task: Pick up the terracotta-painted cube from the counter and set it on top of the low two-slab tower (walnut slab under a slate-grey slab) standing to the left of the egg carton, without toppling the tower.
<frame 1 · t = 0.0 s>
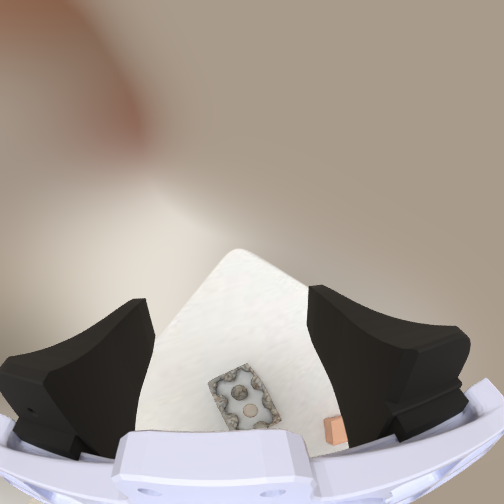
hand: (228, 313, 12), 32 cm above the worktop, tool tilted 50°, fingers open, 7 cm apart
terracotta cube: (336, 427, 35), on the worktop
egg carton: (243, 402, 38), on the worktop
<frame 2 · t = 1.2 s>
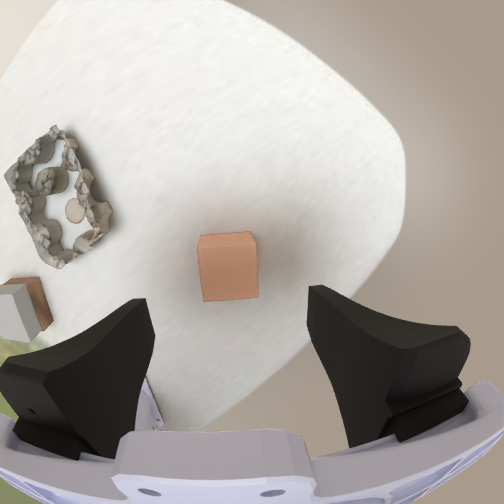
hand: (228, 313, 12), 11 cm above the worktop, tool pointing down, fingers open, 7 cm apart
terracotta cube: (227, 256, 23), on the worktop
tower base: (32, 298, 22), on the worktop
egg carton: (67, 195, 20), on the worktop
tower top: (18, 307, 19), point 2 cm above the worktop
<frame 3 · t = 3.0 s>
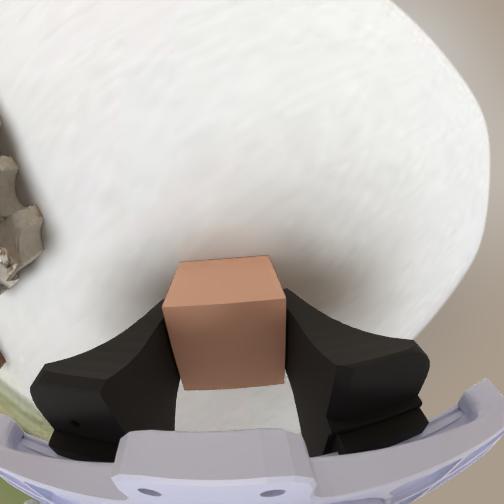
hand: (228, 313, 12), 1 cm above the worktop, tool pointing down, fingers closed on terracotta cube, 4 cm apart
terracotta cube: (227, 297, 13), on the worktop, touching gripper
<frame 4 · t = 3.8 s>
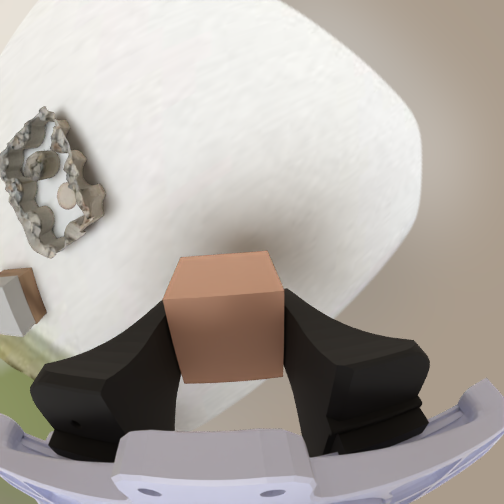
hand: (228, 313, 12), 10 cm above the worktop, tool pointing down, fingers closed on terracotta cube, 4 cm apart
terracotta cube: (227, 292, 13), point 8 cm above the worktop, touching gripper
tower base: (25, 289, 21), on the worktop, touching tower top
egg carton: (59, 180, 18), on the worktop
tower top: (12, 300, 18), point 2 cm above the worktop, touching tower base
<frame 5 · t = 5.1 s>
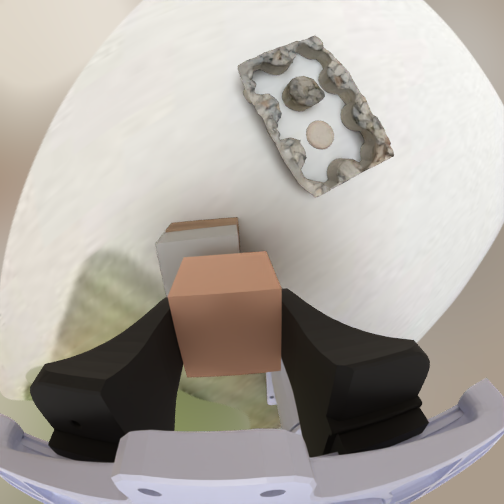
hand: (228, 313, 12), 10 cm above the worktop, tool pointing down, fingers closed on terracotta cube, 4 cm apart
terracotta cube: (228, 291, 14), point 8 cm above the worktop, touching gripper
tower base: (207, 250, 21), on the worktop, touching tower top
egg carton: (305, 117, 19), on the worktop
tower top: (204, 262, 19), point 2 cm above the worktop, touching tower base
when the fingers open (7 cm above the worktop, at t = 6.2 s): terracotta cube stays where it is, point 5 cm above the worktop.
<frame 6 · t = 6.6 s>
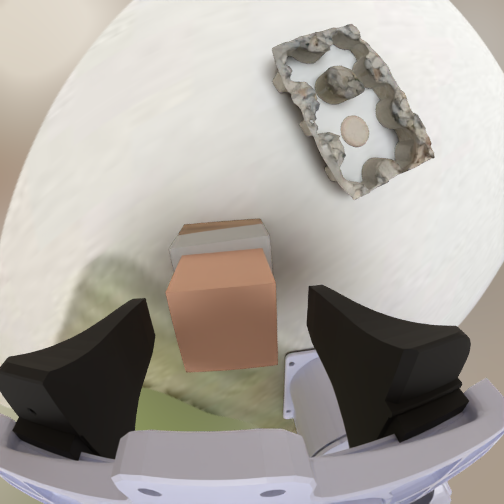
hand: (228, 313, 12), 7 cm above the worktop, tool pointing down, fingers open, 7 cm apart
terracotta cube: (225, 288, 14), point 5 cm above the worktop
tower base: (225, 256, 19), on the worktop
egg carton: (338, 111, 16), on the worktop
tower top: (225, 269, 16), point 2 cm above the worktop
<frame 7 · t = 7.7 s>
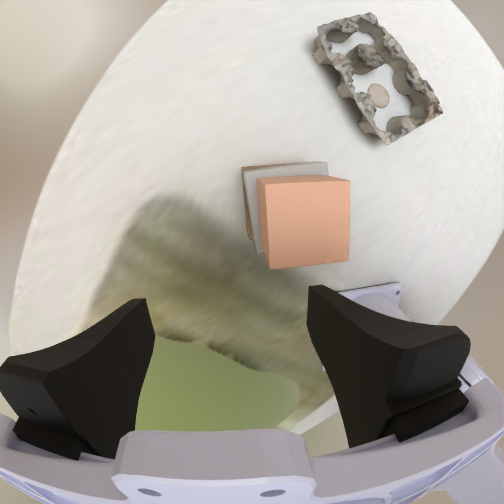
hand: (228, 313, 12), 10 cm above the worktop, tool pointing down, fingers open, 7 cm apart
terracotta cube: (292, 209, 16), point 5 cm above the worktop, touching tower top
tower base: (276, 196, 21), on the worktop, touching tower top
egg carton: (364, 80, 18), on the worktop
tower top: (284, 201, 19), point 2 cm above the worktop, touching terracotta cube, tower base
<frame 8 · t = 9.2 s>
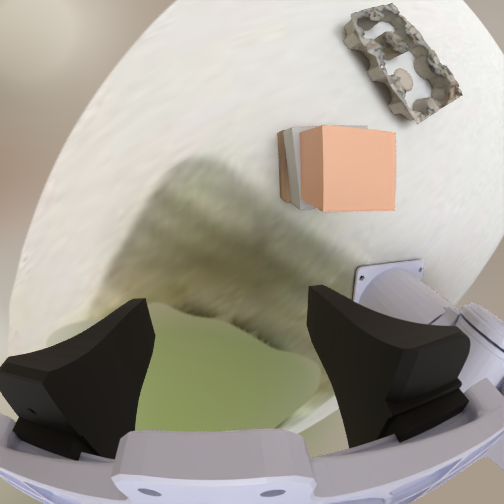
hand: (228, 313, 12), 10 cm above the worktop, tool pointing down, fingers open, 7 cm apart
terracotta cube: (332, 165, 15), point 5 cm above the worktop, touching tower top
tower base: (309, 164, 20), on the worktop, touching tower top
egg carton: (389, 66, 18), on the worktop
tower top: (322, 164, 18), point 2 cm above the worktop, touching terracotta cube, tower base
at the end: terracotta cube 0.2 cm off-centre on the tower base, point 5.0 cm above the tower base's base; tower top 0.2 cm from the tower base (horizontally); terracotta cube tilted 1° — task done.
